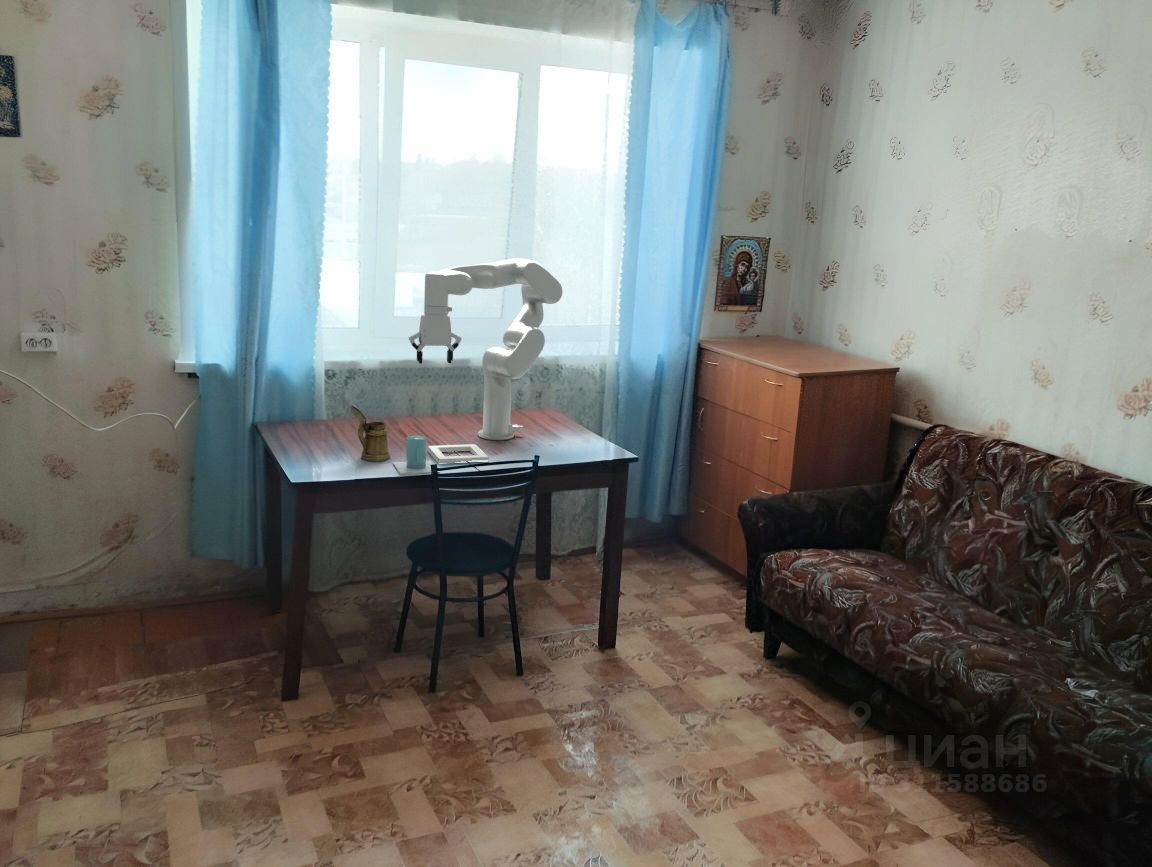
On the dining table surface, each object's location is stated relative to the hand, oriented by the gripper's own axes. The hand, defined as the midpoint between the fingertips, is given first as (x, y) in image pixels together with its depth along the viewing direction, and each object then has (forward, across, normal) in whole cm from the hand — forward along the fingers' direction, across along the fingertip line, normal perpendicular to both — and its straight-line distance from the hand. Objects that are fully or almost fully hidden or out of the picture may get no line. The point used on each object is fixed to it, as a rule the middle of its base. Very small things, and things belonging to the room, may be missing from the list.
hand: (434, 362), depth 323 cm
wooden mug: (+28, +23, +12) cm, 39 cm away
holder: (+28, -5, +14) cm, 32 cm away
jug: (+28, +11, +26) cm, 39 cm away
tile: (+28, +11, +25) cm, 39 cm away
